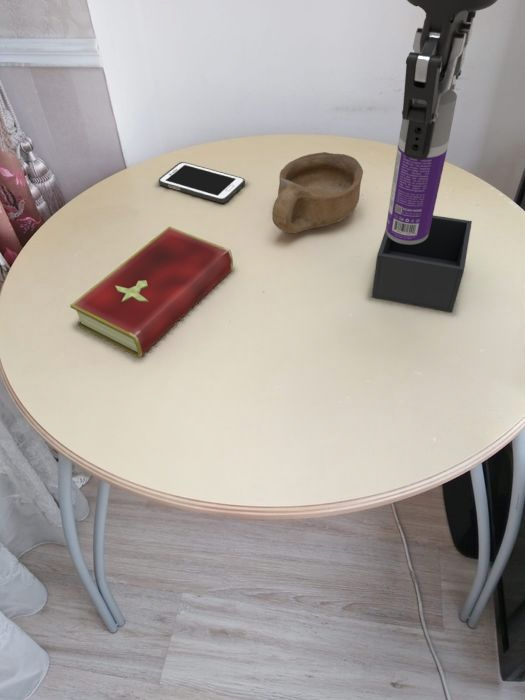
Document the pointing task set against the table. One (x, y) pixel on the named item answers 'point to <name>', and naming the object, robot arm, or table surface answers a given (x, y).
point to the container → (419, 180)
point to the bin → (424, 266)
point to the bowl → (316, 191)
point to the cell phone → (202, 182)
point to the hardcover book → (152, 290)
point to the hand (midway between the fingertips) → (423, 143)
